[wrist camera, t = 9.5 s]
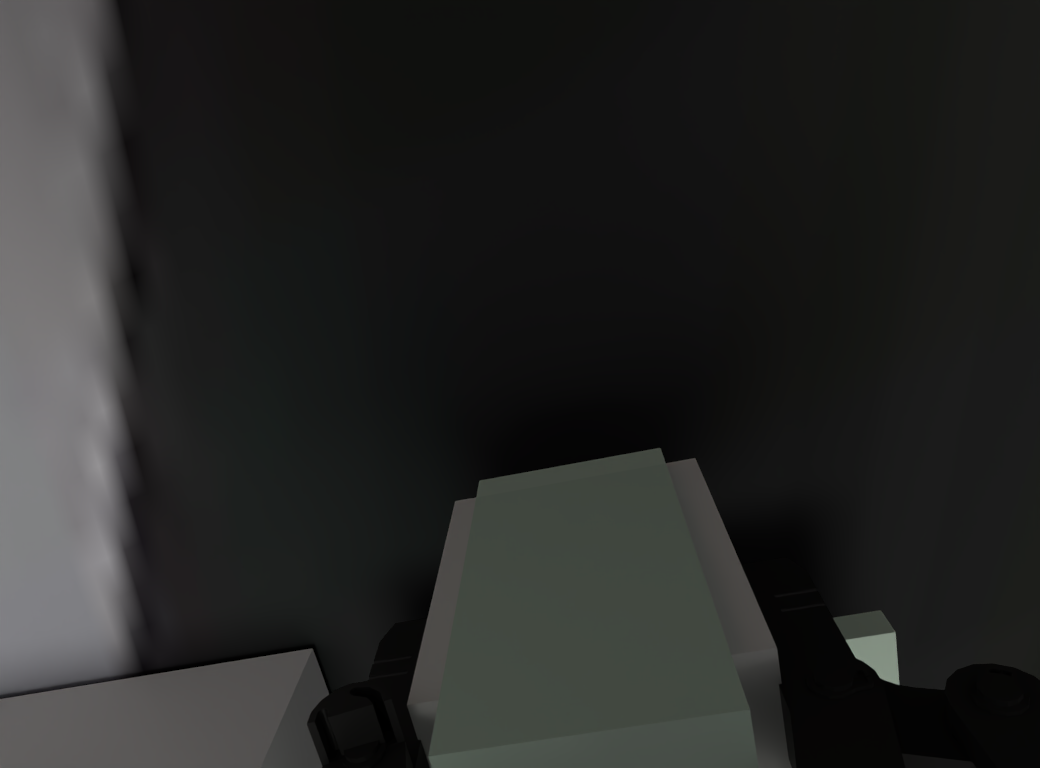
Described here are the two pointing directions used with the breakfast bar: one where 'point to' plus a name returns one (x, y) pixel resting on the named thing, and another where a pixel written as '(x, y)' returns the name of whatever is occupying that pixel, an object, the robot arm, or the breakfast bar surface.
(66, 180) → the breakfast bar surface
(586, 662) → the green stepped block
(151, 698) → the tub
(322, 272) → the breakfast bar surface
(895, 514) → the breakfast bar surface
